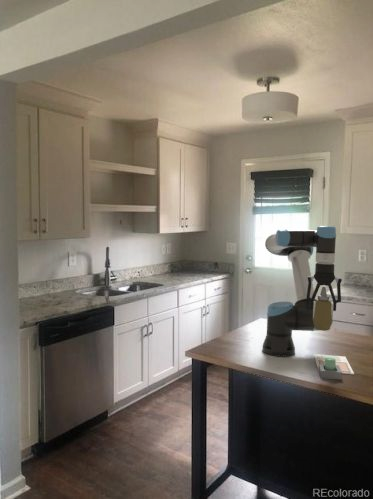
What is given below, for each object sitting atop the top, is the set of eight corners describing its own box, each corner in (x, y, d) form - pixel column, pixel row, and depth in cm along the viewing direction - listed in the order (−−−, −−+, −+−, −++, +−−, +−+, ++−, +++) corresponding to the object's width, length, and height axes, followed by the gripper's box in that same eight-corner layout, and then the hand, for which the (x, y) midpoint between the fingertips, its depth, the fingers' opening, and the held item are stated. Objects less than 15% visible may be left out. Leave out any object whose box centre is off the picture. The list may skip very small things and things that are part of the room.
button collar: (320, 377, 169) (320, 370, 169) (318, 370, 177) (318, 363, 177) (341, 379, 168) (341, 372, 168) (338, 372, 176) (338, 365, 175)
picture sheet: (318, 371, 176) (318, 370, 176) (313, 355, 197) (313, 353, 197) (354, 374, 174) (354, 373, 173) (345, 357, 194) (345, 356, 194)
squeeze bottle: (329, 327, 182) (330, 285, 180) (334, 332, 174) (336, 288, 172) (310, 326, 182) (311, 285, 181) (314, 331, 174) (316, 288, 173)
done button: (325, 372, 171) (325, 360, 170) (323, 369, 175) (324, 357, 174) (336, 373, 170) (336, 361, 170) (334, 369, 174) (335, 358, 174)
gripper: (300, 262, 175) (298, 317, 177) (350, 265, 170) (348, 321, 171) (301, 261, 182) (299, 314, 184) (348, 263, 177) (346, 317, 179)
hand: (322, 317), depth 178 cm, fingers closed on squeeze bottle, 6 cm apart
